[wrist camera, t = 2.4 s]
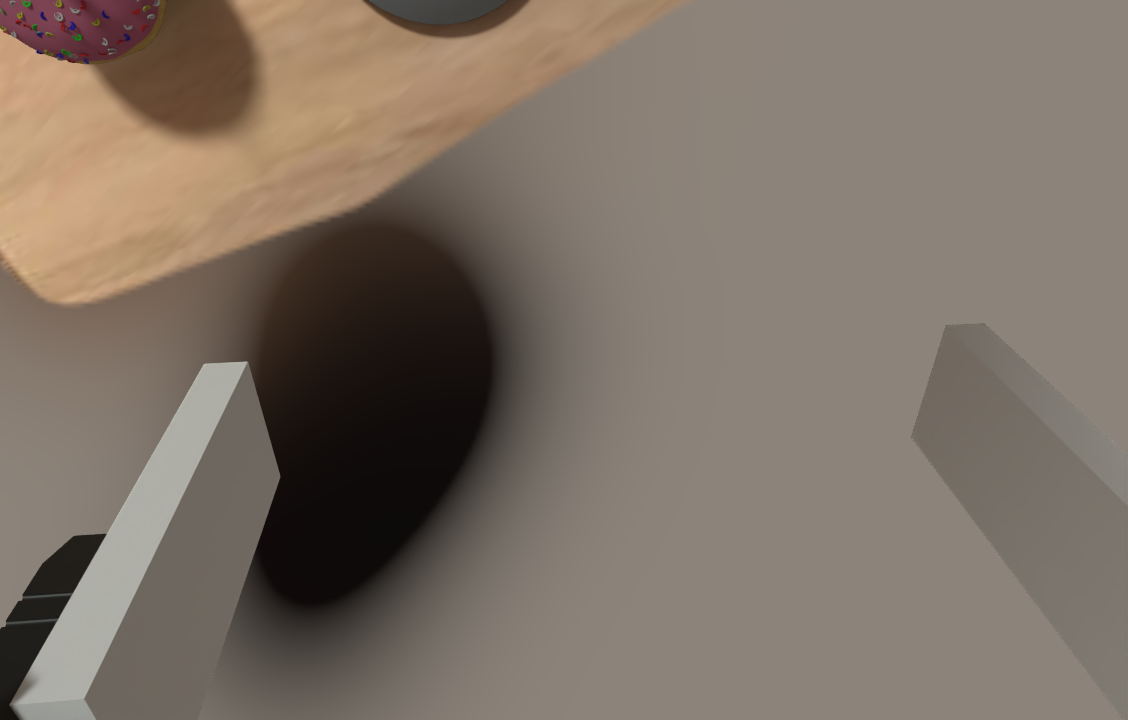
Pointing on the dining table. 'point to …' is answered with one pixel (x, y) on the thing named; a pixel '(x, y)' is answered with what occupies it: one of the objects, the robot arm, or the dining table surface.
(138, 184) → the dining table surface
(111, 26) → the cupcake
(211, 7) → the dining table surface
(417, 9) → the coaster
